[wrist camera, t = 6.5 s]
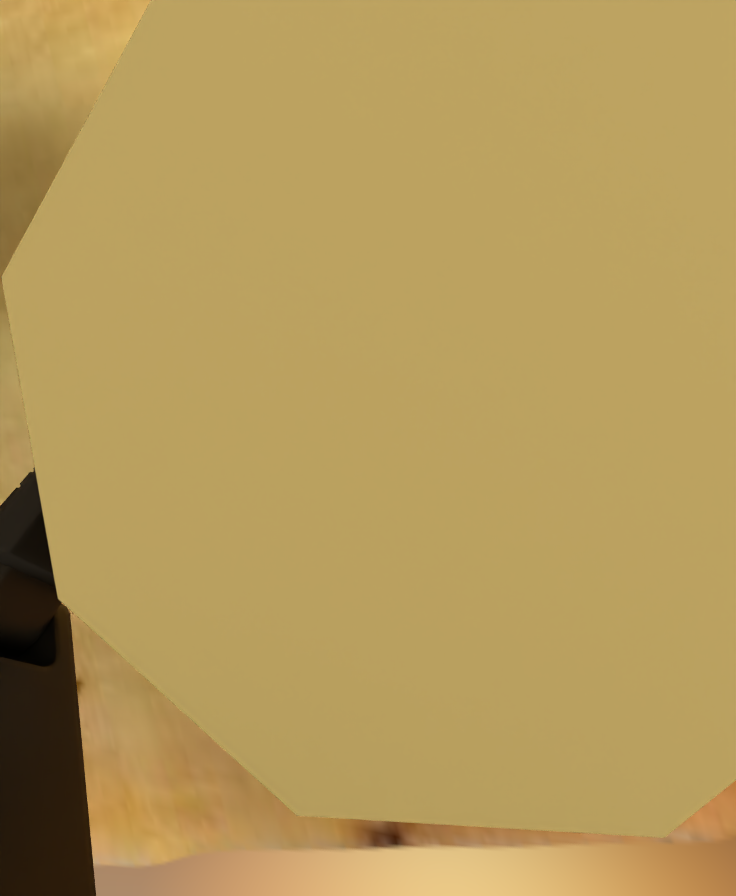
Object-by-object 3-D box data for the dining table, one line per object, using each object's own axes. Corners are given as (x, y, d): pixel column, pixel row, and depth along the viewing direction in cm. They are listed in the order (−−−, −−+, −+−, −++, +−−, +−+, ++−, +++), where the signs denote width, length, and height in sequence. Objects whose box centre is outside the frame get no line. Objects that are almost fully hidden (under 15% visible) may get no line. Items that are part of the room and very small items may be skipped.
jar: (544, 346, 17) (1472, -186, 2) (483, 527, 18) (782, 1055, 3) (358, 298, 18) (56, -279, 3) (311, 473, 19) (-77, 673, 4)
